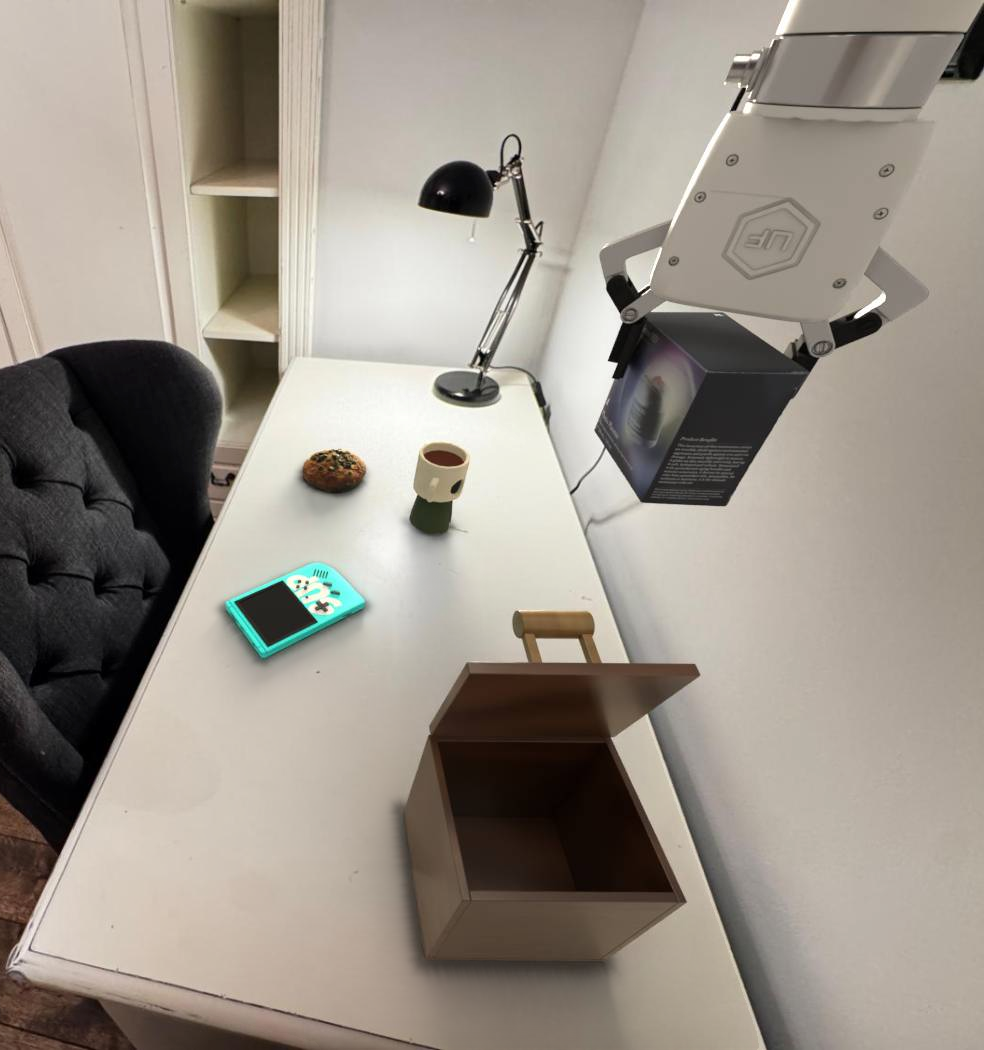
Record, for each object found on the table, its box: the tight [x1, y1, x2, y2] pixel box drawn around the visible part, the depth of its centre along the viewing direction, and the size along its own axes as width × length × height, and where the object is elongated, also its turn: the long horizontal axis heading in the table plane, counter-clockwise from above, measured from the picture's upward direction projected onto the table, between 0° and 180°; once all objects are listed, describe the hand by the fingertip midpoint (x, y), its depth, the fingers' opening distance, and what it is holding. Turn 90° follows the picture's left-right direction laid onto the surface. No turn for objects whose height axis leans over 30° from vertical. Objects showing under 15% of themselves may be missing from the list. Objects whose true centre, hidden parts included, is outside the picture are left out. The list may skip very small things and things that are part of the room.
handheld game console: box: [225, 562, 366, 659], centre depth 75 cm, size 10×16×1 cm, turn 122°
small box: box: [593, 311, 810, 507], centre depth 42 cm, size 11×6×10 cm, turn 176°
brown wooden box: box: [402, 733, 688, 962], centre depth 46 cm, size 12×15×15 cm
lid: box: [428, 609, 701, 738], centre depth 42 cm, size 12×15×6 cm
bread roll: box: [301, 448, 367, 494], centre depth 97 cm, size 11×11×5 cm
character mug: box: [408, 440, 471, 536], centre depth 84 cm, size 11×7×13 cm, turn 154°
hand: (689, 387), depth 41 cm, fingers closed on small box, 8 cm apart
